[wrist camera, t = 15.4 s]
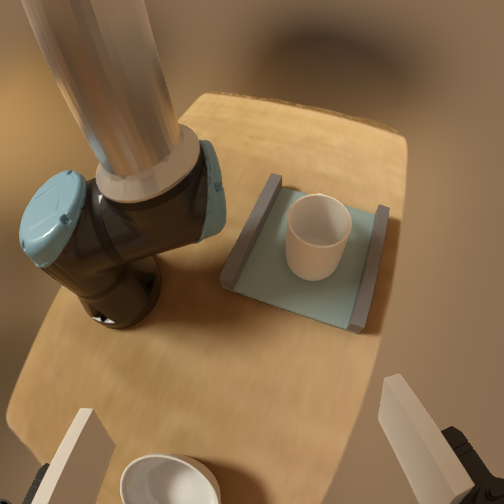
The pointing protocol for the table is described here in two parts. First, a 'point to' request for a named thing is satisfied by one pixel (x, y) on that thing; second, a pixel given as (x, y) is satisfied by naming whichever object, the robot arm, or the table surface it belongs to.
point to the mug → (316, 236)
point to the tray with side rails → (290, 285)
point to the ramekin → (168, 481)
